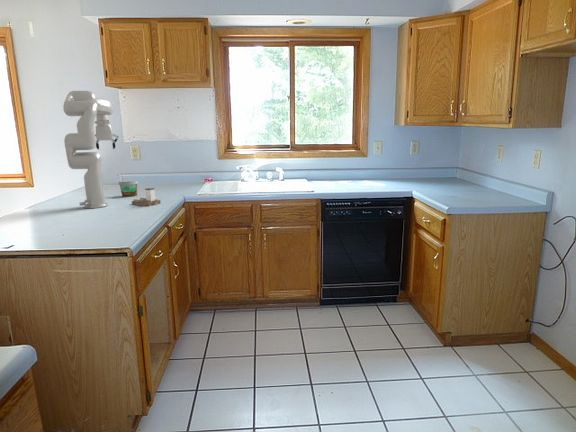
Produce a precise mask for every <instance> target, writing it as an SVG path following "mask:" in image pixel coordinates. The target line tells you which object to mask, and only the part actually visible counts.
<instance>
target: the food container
mask: <svg viewBox="0 0 576 432" xmlns="http://www.w3.org/2000/svg"><path fill="white" fill-rule="evenodd" d="M138 185H139V182H138V180H135V181H134V180H133V181H118V186H119V187H120V193H121V196H122V197H123V198H131V197H132V198H133V197H136V196H138Z"/></svg>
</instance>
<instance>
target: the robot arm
mask: <svg viewBox="0 0 576 432" xmlns="http://www.w3.org/2000/svg"><path fill="white" fill-rule="evenodd" d="M62 107H63V108H62V109H63V112H64V114H65V116H66V115H67V117H79V119H78V120H77V122H76V129H77V132H73V133H71V132H69V133H67V134H66V135H65V137H64V140H63V141H64V142H63V143H64V148H65V153H66V154H65V155H66V160H67V164H68V167H69V168H70V169H72V170H87V171H85V173H84V175H83V181H84V189H85V196H86V197H85V198H86V199H84V201H81V202H79V206H81V207H82V206H84V208H86V209H99V208H105V207H107V206H109V203H108V202H106V201H105V192H104V183H103V175H102V161H103V159H102V155H101V154H100V153H98V152H96V151H92V150H94V149H95V148H96V149H97V150H98V151H99V150H100V144H99V142H100V141H111V142H112V149H113V150H115V149H116V143H117V141H118V140H119V135H116V134H115V133H113V129H112V126H111V124H110V119H109V118H110V117H109V116H110V115H113V113H114V112H115V111H114V107H113V104H112V102H111V101H109V100H108V99H105V98H101V97H98V96H96V94H95V93H93V92H92V91H90V90H71V91H69V92H68V94H67V95H66V98H65V100H64V102H63V105H62ZM95 120H96V121H95ZM94 124H96V125H95V127H94ZM114 137H115V139H114ZM90 150H91V151H90ZM77 151H78V152H77ZM79 151H80V152H79ZM81 151H82V152H81Z"/></svg>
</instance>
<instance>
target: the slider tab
mask: <svg viewBox="0 0 576 432" xmlns="http://www.w3.org/2000/svg"><path fill="white" fill-rule="evenodd" d="M144 191H145V198H146V200H149V201H155V200H156V199H157V197H156V188H155V187H148V188H144Z"/></svg>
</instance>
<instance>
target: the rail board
mask: <svg viewBox="0 0 576 432" xmlns="http://www.w3.org/2000/svg"><path fill="white" fill-rule="evenodd" d="M131 204H132V205H135V206H142V207H145V206H146V207H152V206H155V205H160V204H162V203H161V199H159V198H156V200H155V201H149V200H146V197H140V199H137V198H133V200H132V201H131Z"/></svg>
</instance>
